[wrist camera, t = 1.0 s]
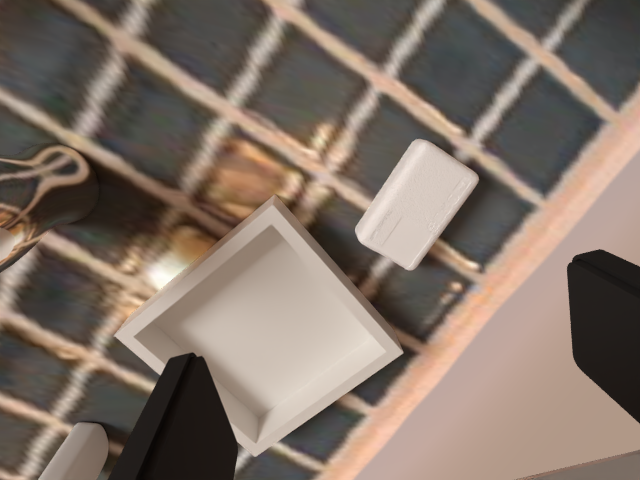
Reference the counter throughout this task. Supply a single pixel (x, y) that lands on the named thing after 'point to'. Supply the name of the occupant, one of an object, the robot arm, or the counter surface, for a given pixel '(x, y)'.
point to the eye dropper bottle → (79, 454)
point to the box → (266, 326)
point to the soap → (415, 204)
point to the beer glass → (41, 195)
